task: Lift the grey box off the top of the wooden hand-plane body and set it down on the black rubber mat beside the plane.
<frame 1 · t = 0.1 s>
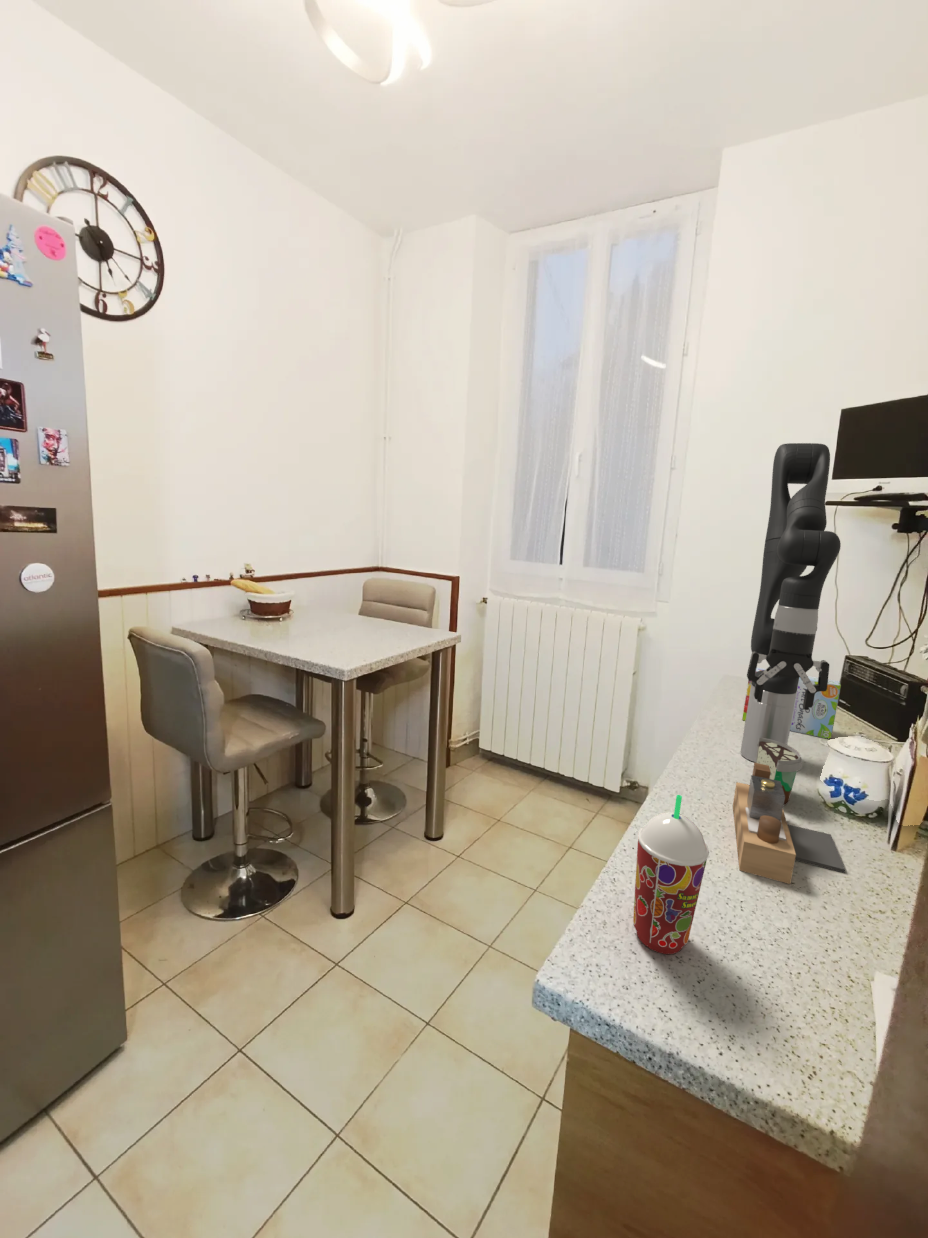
hand: (781, 705, 113), 17 cm above the kitchen counter, tool pointing down, fingers open, 8 cm apart
mat: (812, 848, 93), on the kitchen counter
snack box: (784, 728, 150), on the kitchen counter
smoothie: (659, 939, 70), on the kitchen counter
food container: (776, 797, 110), on the kitchen counter
grey box: (762, 812, 93), point 5 cm above the kitchen counter, touching plane body
plane body: (758, 840, 94), on the kitchen counter
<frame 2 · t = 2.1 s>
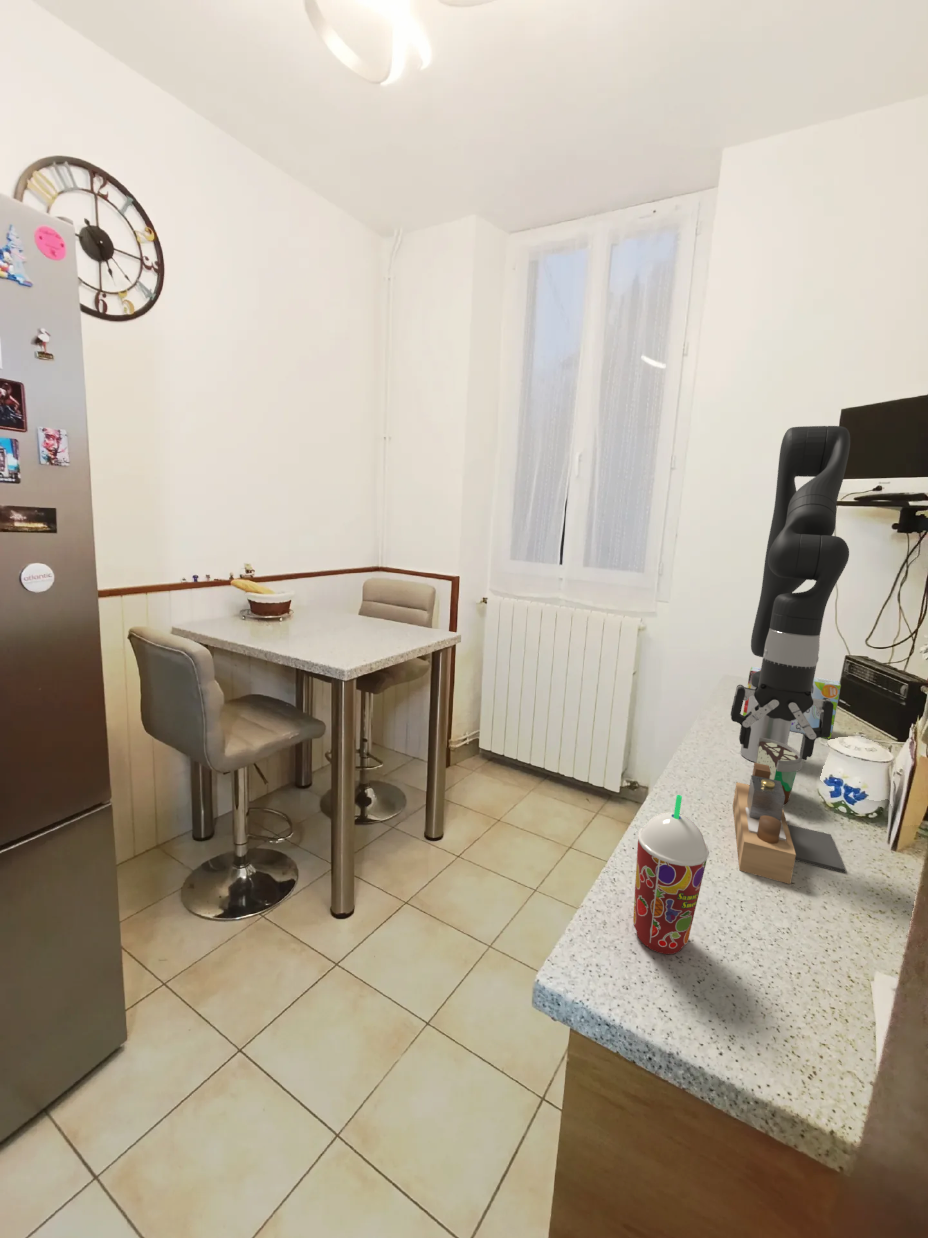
hand: (773, 752, 91), 16 cm above the kitchen counter, tool pointing down, fingers open, 8 cm apart
nothing on the kitchen counter moved.
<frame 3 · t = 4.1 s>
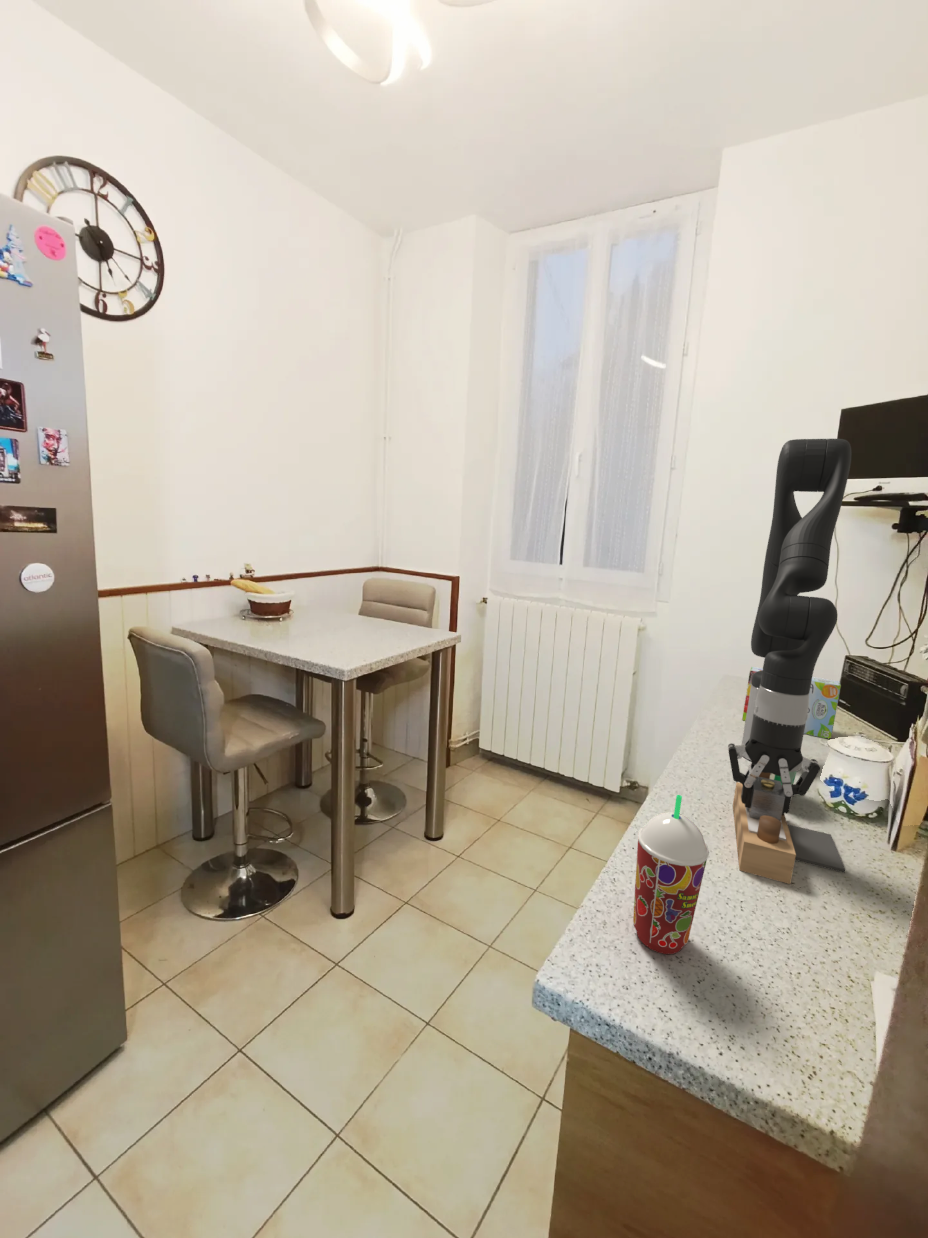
hand: (763, 809, 93), 6 cm above the kitchen counter, tool pointing down, fingers closed on grey box, 4 cm apart
grey box: (762, 812, 93), point 5 cm above the kitchen counter, touching gripper, plane body
everything else where it was.
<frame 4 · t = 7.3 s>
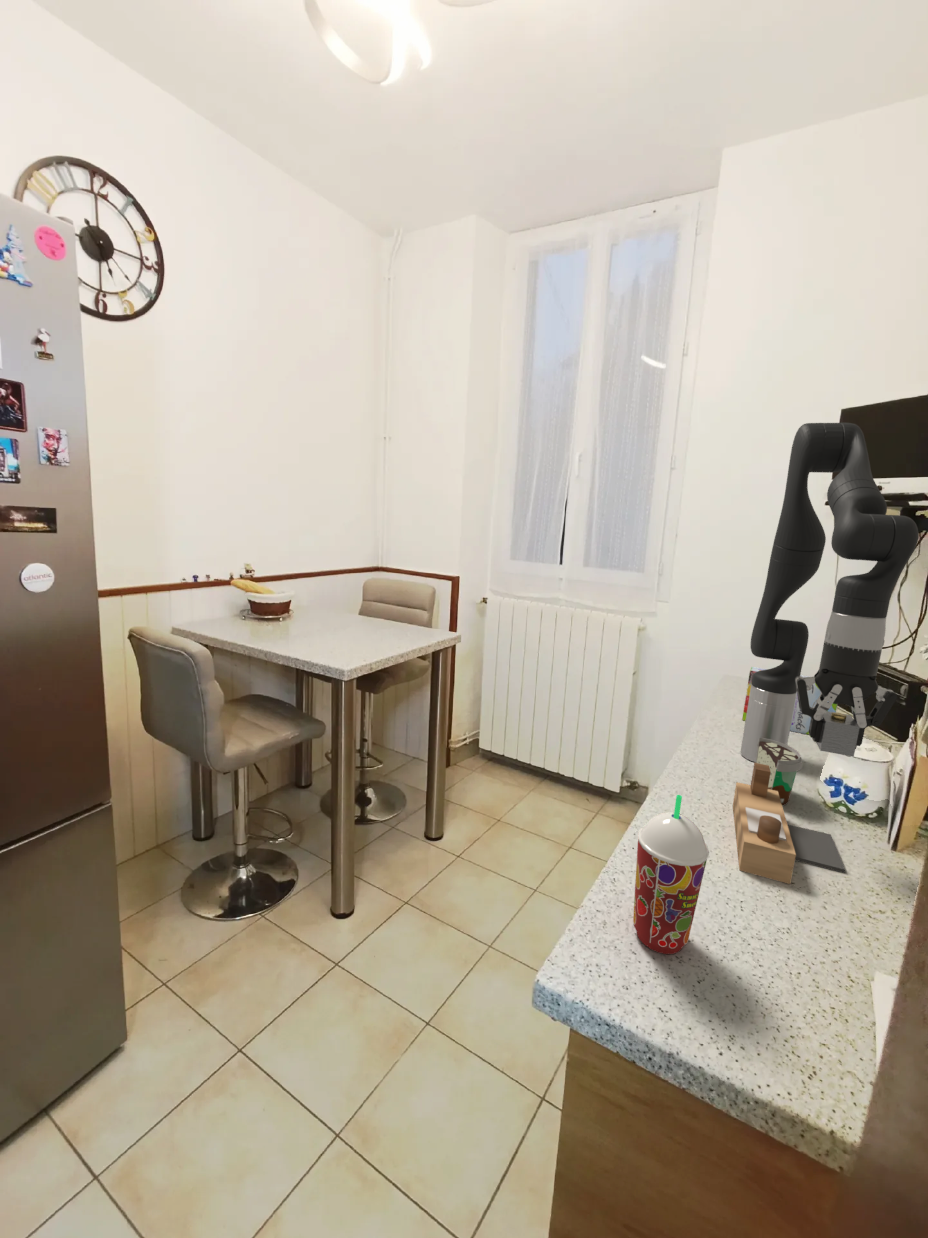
hand: (833, 743, 89), 19 cm above the kitchen counter, tool pointing down, fingers closed on grey box, 4 cm apart
grey box: (832, 746, 89), point 18 cm above the kitchen counter, touching gripper
everything else where it was.
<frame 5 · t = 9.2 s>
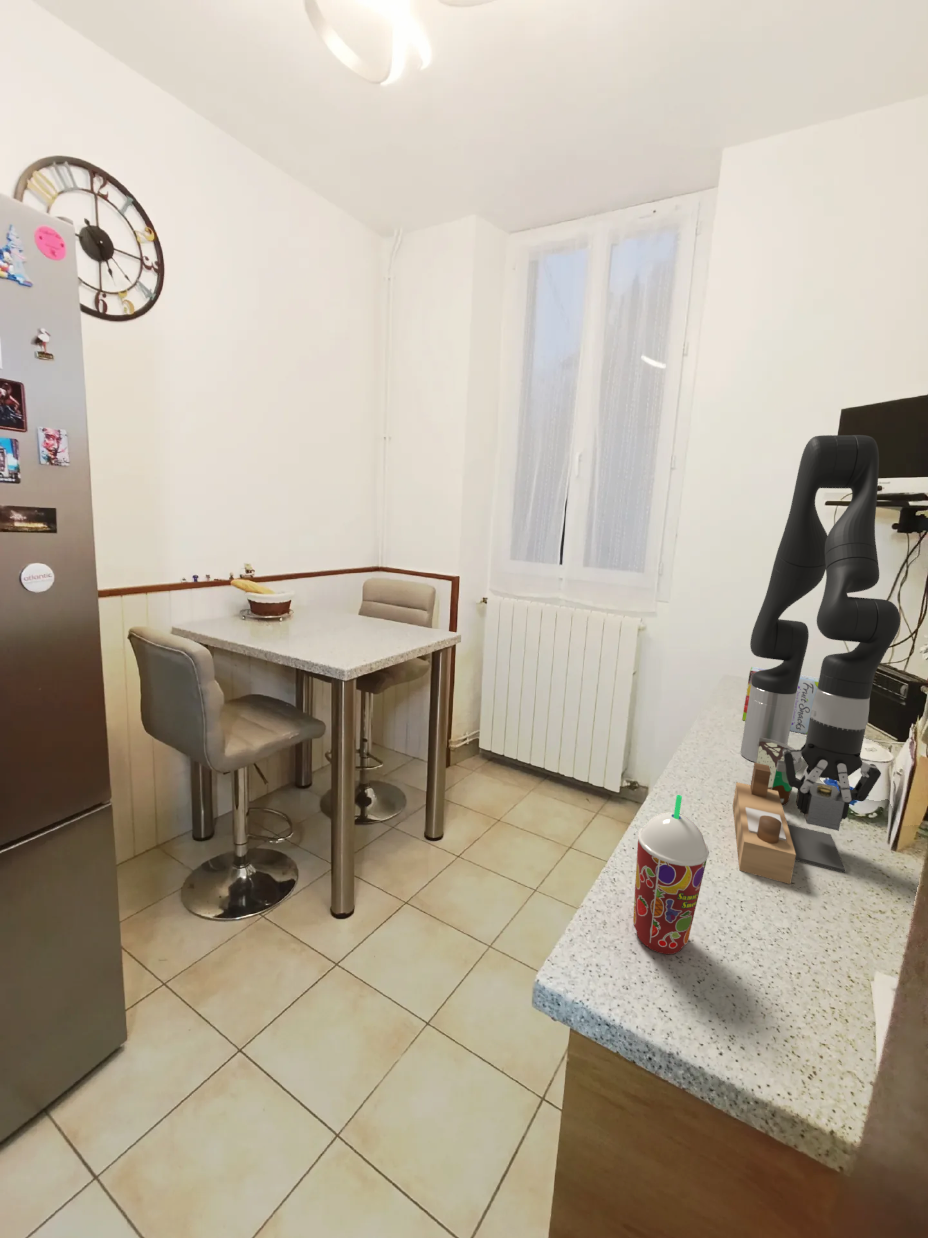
hand: (819, 814, 91), 6 cm above the kitchen counter, tool pointing down, fingers closed on grey box, 4 cm apart
grey box: (819, 818, 91), point 6 cm above the kitchen counter, touching gripper
everything else where it was.
when the fingers open (3 cm above the kitchen counter, at t = 10.9 s): grey box drops 1 cm, resting on mat.
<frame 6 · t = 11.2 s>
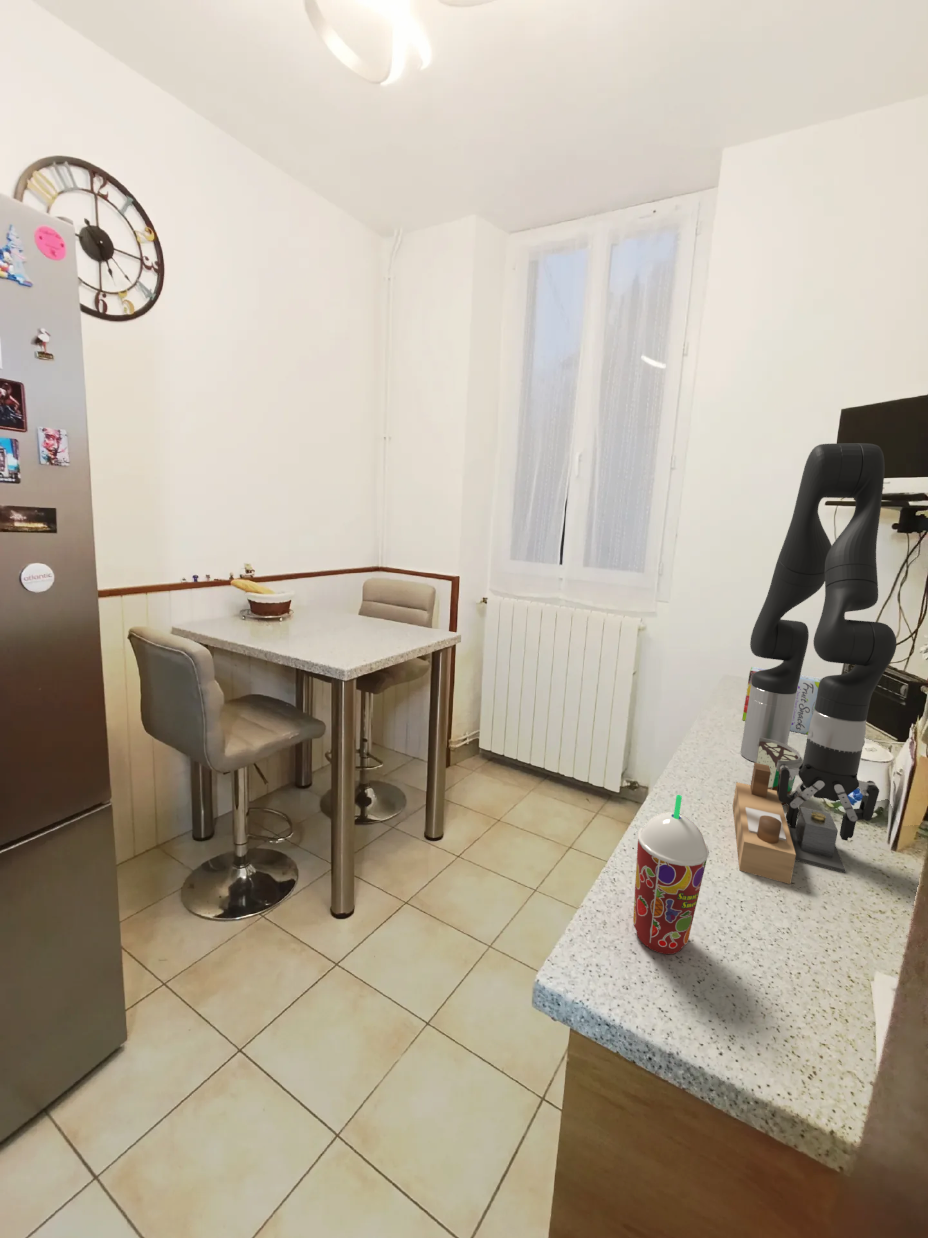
hand: (817, 831, 92), 3 cm above the kitchen counter, tool pointing down, fingers open, 7 cm apart
grey box: (812, 845, 92), point 1 cm above the kitchen counter, touching mat
everything else where it was.
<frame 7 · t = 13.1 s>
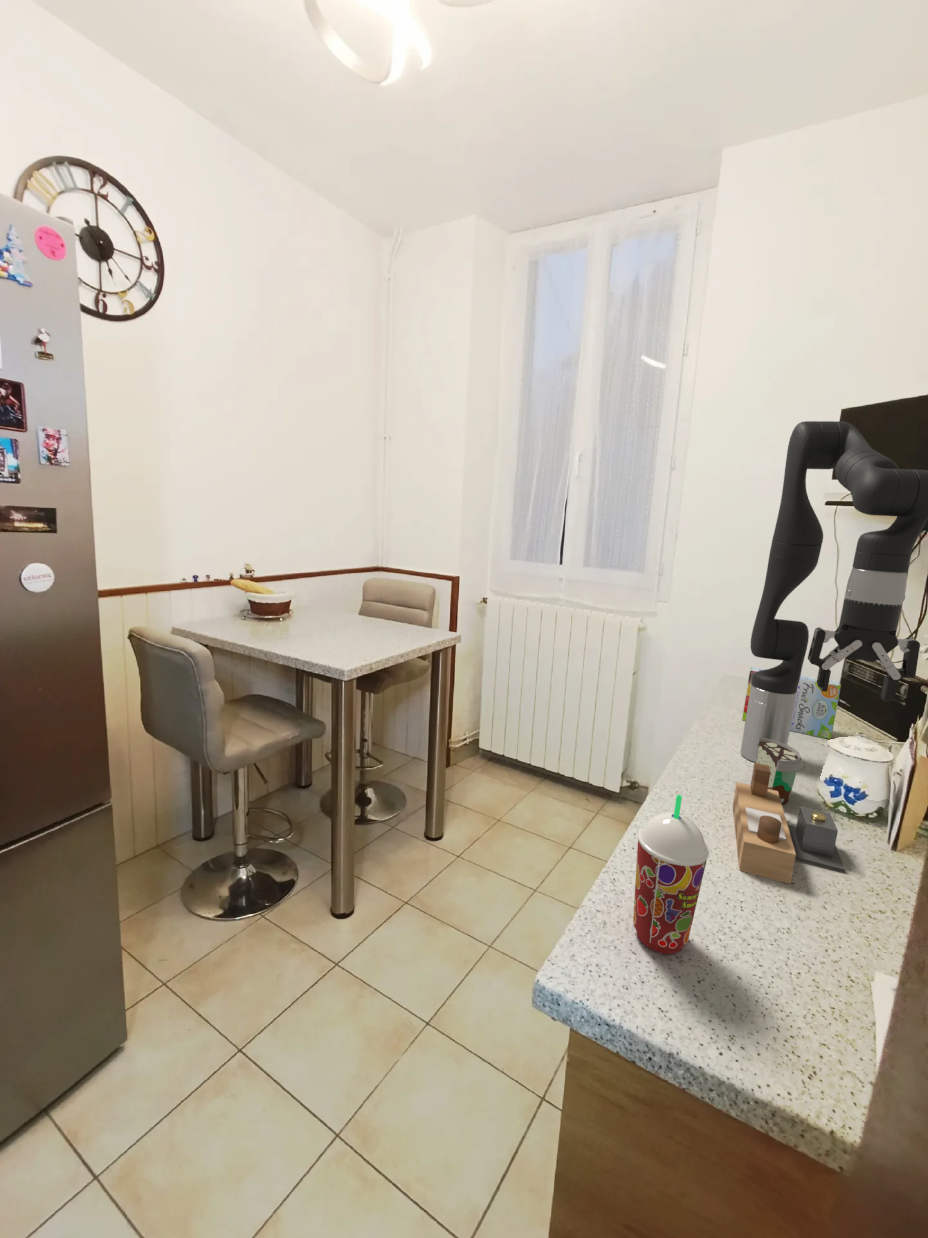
hand: (853, 694, 90), 27 cm above the kitchen counter, tool pointing down, fingers open, 8 cm apart
nothing on the kitchen counter moved.
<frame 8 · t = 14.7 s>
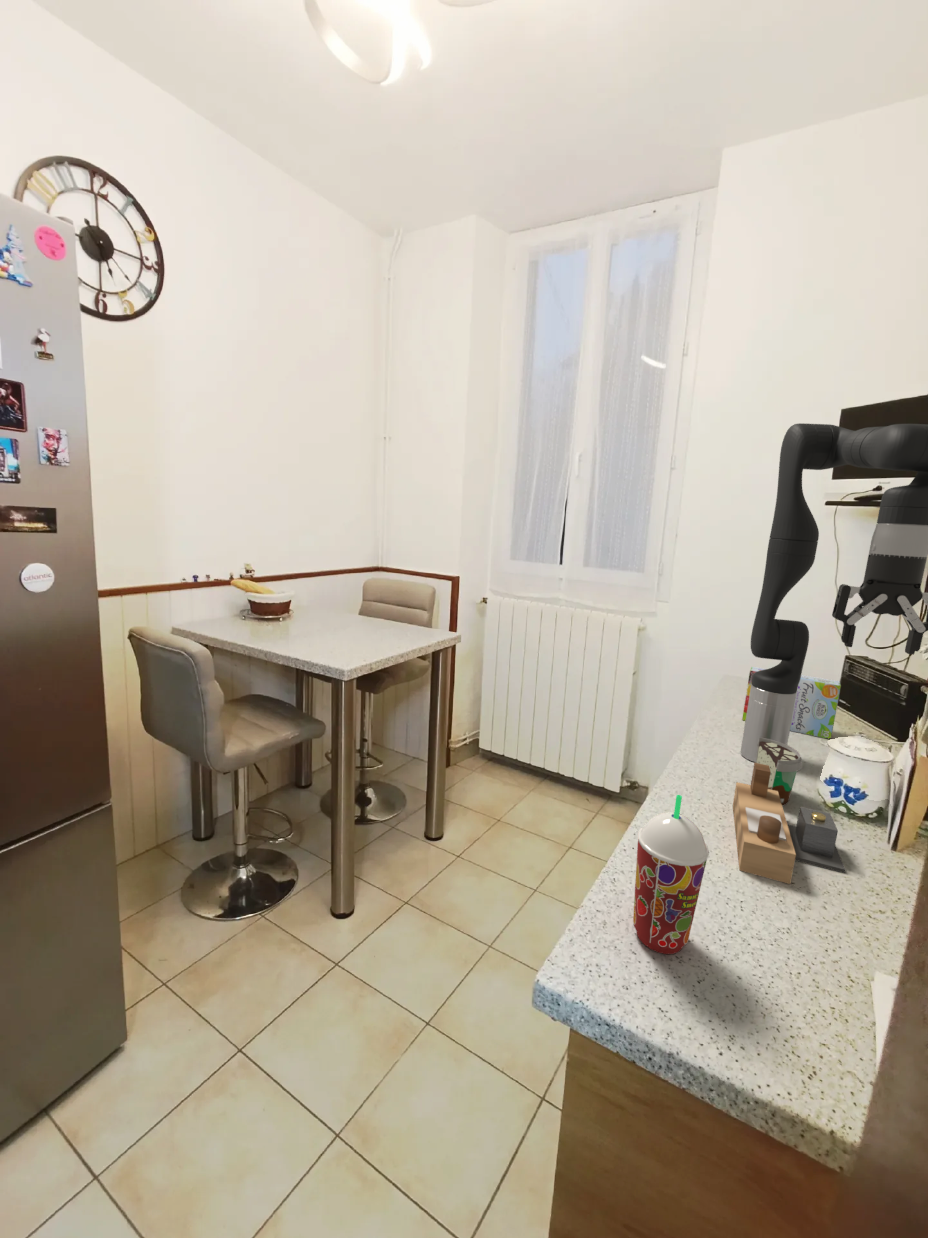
hand: (877, 649, 91), 34 cm above the kitchen counter, tool pointing down, fingers open, 8 cm apart
nothing on the kitchen counter moved.
at the end: grey box inside the target area on the mat (0.1 cm from its centre), point 0.6 cm above the mat's base; grey box touching mat; grey box tilted 0° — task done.
